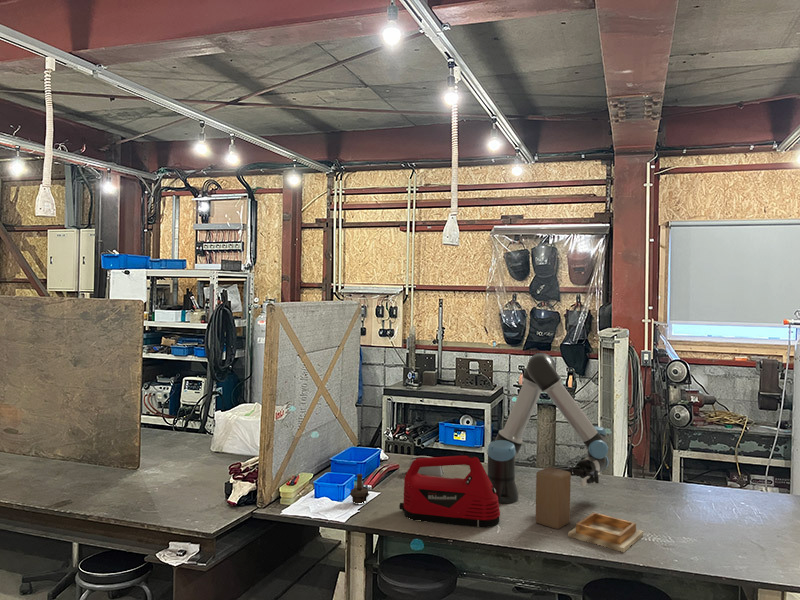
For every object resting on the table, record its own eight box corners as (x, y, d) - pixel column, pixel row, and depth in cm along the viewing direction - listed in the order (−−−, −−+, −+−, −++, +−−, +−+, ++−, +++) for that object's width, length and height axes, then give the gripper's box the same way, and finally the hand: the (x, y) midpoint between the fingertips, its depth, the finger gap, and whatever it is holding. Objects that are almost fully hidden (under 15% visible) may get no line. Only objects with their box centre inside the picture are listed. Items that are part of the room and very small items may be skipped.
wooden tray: (568, 536, 216) (568, 524, 216) (590, 521, 231) (590, 509, 231) (623, 552, 203) (623, 539, 203) (643, 535, 218) (643, 523, 218)
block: (570, 523, 228) (571, 471, 228) (558, 530, 221) (559, 476, 221) (547, 516, 235) (548, 466, 235) (534, 523, 228) (535, 471, 228)
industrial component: (371, 501, 249) (371, 473, 249) (365, 507, 242) (365, 477, 242) (350, 499, 252) (350, 470, 252) (343, 504, 245) (344, 475, 245)
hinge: (444, 473, 291) (443, 455, 287) (442, 479, 286) (441, 461, 283) (411, 470, 295) (410, 452, 292) (409, 475, 291) (407, 458, 288)
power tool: (404, 505, 245) (405, 444, 245) (502, 516, 235) (503, 453, 235) (394, 518, 230) (395, 454, 230) (498, 531, 220) (499, 463, 220)
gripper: (616, 482, 244) (596, 495, 227) (559, 471, 260) (537, 483, 243) (616, 464, 244) (596, 476, 227) (559, 454, 260) (537, 464, 243)
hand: (565, 479), depth 235 cm, fingers open, 13 cm apart
